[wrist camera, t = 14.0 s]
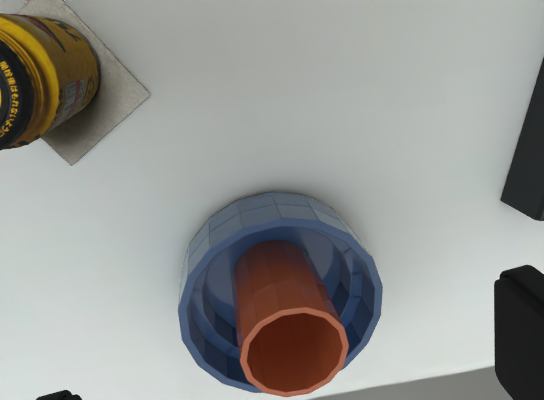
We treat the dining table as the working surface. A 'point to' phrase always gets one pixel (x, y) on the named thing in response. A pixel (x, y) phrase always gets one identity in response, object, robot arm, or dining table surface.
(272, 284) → the cup
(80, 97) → the condiment
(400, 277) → the dining table surface
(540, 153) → the food platter
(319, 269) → the bowl
